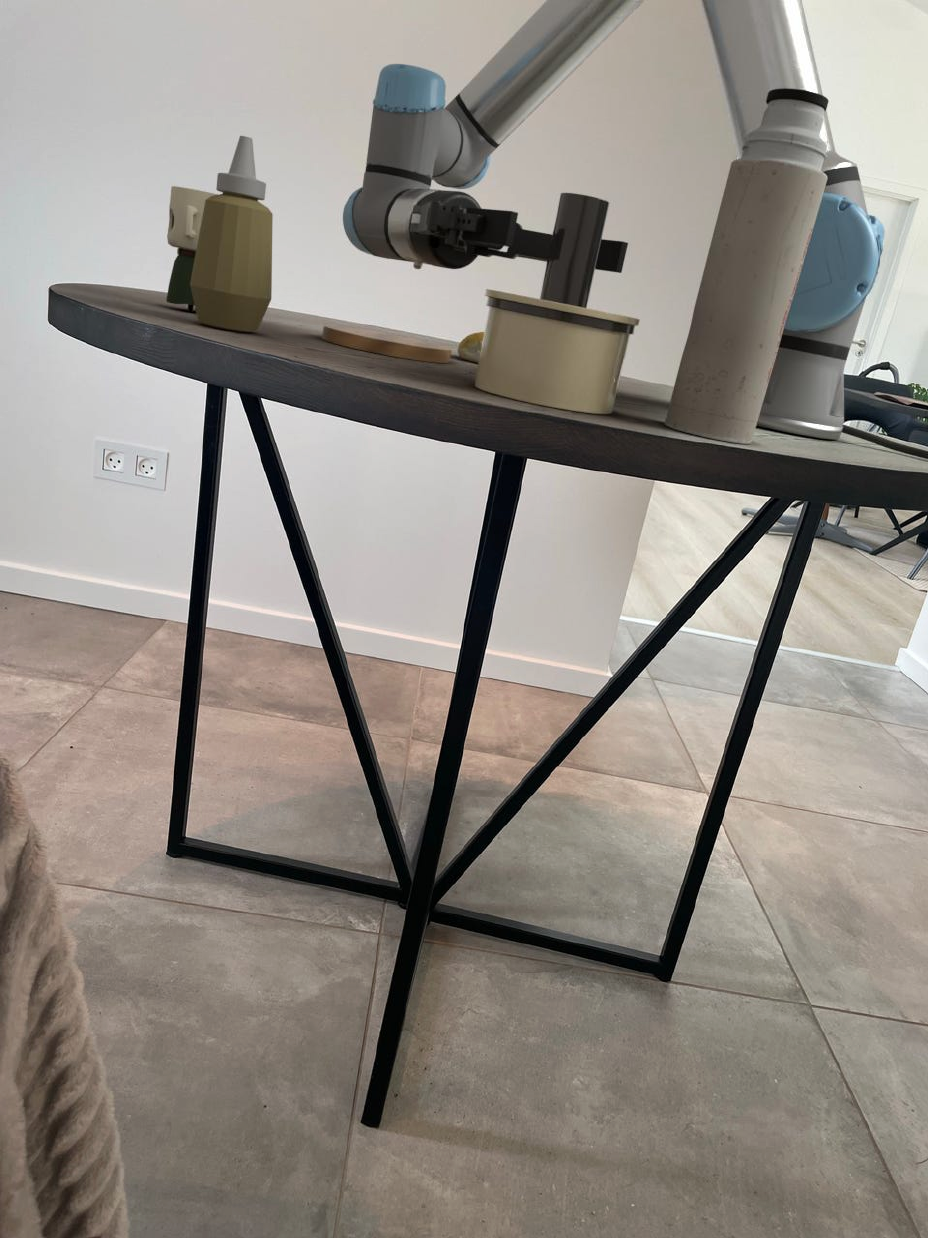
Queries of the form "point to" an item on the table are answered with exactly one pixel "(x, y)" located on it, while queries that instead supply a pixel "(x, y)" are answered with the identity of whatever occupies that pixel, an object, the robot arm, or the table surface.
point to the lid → (572, 259)
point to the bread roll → (471, 347)
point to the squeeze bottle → (234, 249)
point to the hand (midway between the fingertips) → (569, 243)
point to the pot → (552, 357)
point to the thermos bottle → (752, 270)
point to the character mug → (184, 240)
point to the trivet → (386, 344)
